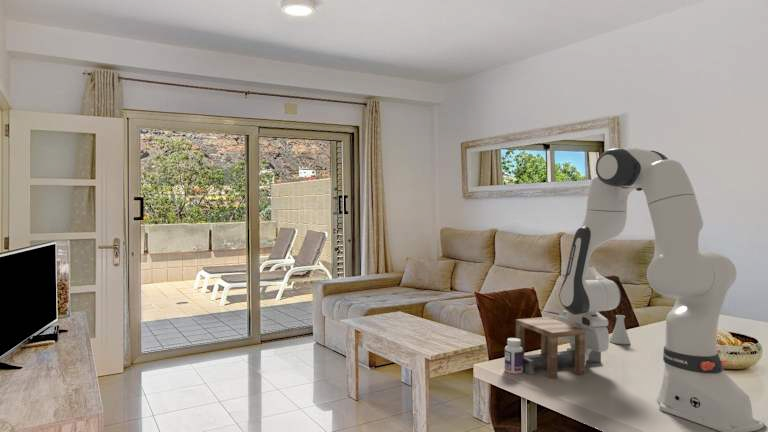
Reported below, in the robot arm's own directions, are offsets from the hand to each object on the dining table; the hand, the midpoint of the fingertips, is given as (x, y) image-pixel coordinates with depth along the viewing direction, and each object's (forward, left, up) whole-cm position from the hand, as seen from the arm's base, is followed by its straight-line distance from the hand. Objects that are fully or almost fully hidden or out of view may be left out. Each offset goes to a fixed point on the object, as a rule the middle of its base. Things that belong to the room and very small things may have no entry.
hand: (580, 358), depth 160 cm
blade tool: (0, +8, -2) cm, 8 cm away
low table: (0, +12, -2) cm, 13 cm away
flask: (+15, -32, -2) cm, 35 cm away
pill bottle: (0, +25, -2) cm, 25 cm away
